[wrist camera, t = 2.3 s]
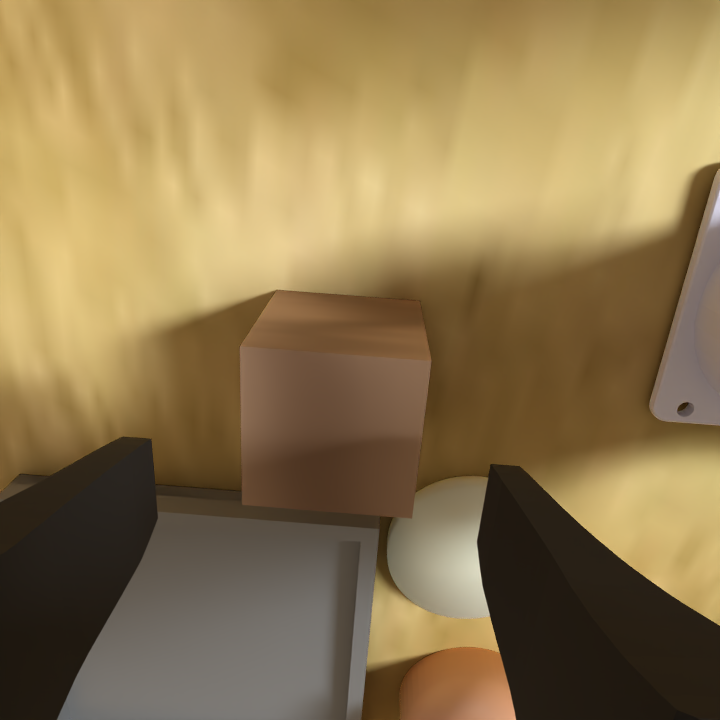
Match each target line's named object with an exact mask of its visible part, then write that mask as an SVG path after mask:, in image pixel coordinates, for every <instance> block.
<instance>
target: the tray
mask: <svg viewBox="0 0 720 720" xmlns="http://www.w3.org/2000/svg"><path fill="white" fill-rule="evenodd" d="M48 477H49V476H37V475H25V474H20V475H18V476H17V477H16V478H15V479H14V480H13V481H12V482H11V483H10V484H9V485H8V486H7V487H6V488H5V489H4V490H3V491H2V492H1V493H0V502H1V501H3V500H5V499H7V498H9V497H11V496H13V495H15V494H17V493H19V492H21V491H23V490H25V489H27V488H29V487H31V486H33V485H35V484H36V483H38V482H40V481H42V480H44V479H46V478H48ZM155 488H156V500H157V512H158V520H157V522H156V525H155V527H154V530H153V533H152V535H151V538H150V541H149V543H148V545H147V548H146V550H145V553H144V555H143V557H142V560H141V562H140V563H139V565H138V567H137V569H136V571H135V573H134V574H133V576H132V578H131V580H130V582H129V583H128V585H127V587H126V589H125V590H124V592H123V594H122V596H121V598H120V599H119V601H118V603H117V604H116V606H115V608H114V610H113V611H112V613H111V615H110V617H109V618H108V620H107V622H106V624H105V625H104V627H103V629H102V631H101V632H100V634H99V636H98V638H97V639H96V641H95V643H94V645H93V646H92V648H91V650H90V652H89V653H88V655H87V657H86V659H85V661H84V663H83V665H82V667H81V669H80V671H79V673H78V674H77V676H76V678H75V681H74V683H73V685H72V687H71V690H70V692H69V694H68V696H67V699H66V701H65V703H64V705H63V707H62V710H61V712H60V714H59V716H58V719H57V720H361V716H362V706H363V696H364V685H365V675H366V665H367V654H368V644H369V633H370V623H371V613H372V602H373V592H374V582H375V571H376V561H377V550H378V540H379V530H380V516H374V515H361V514H349V513H337V512H324V511H312V510H300V509H287V508H275V507H262V506H250V505H242V491H230V490H217V489H204V488H192V487H179V486H166V485H155Z"/></svg>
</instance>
